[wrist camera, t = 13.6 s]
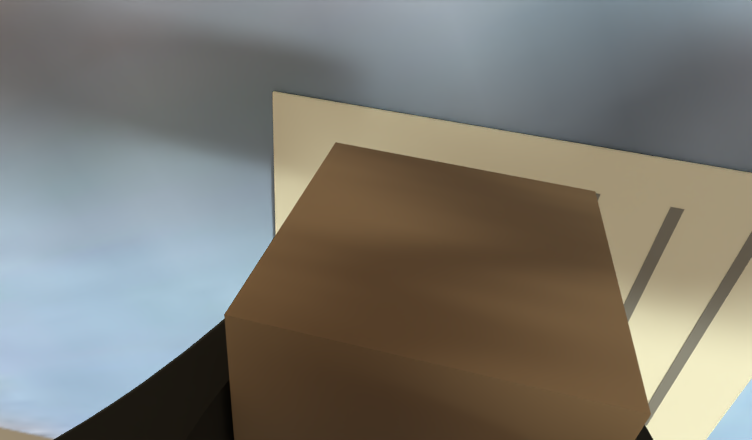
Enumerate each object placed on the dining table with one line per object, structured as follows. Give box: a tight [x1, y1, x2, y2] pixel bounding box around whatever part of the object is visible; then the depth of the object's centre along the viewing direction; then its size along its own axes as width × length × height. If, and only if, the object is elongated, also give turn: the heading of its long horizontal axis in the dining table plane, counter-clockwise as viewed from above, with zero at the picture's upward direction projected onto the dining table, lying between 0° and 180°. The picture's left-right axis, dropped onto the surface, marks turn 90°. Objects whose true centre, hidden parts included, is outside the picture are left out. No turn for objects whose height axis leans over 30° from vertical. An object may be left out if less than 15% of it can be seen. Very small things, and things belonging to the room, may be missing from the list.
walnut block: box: [224, 142, 651, 440], centre depth 10 cm, size 5×5×5 cm
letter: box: [272, 91, 752, 440], centre depth 20 cm, size 18×13×1 cm
